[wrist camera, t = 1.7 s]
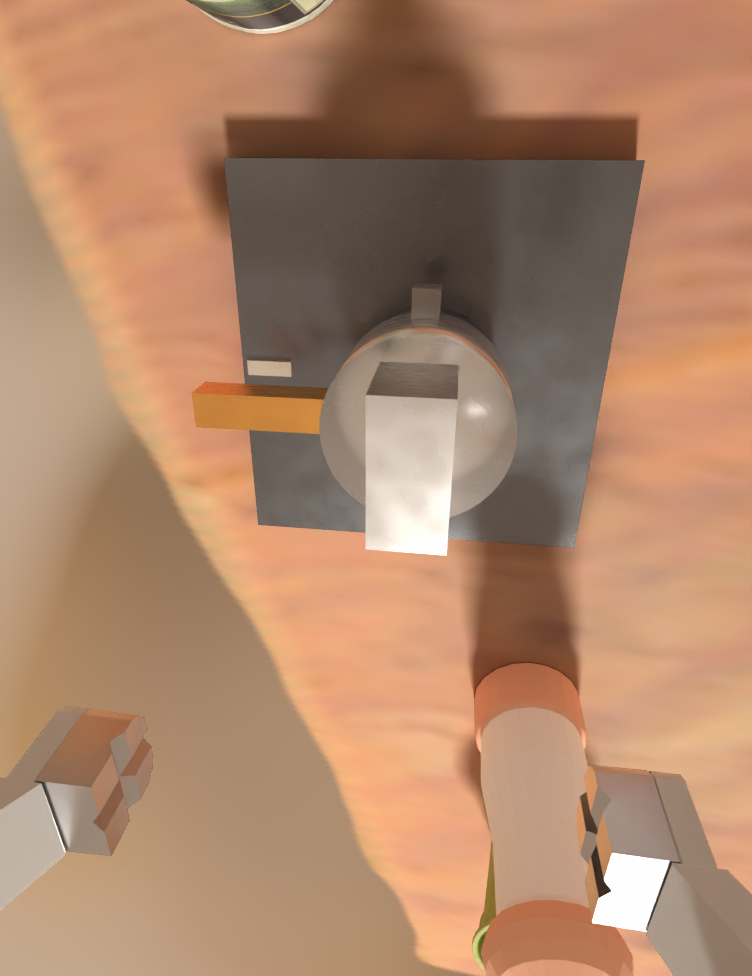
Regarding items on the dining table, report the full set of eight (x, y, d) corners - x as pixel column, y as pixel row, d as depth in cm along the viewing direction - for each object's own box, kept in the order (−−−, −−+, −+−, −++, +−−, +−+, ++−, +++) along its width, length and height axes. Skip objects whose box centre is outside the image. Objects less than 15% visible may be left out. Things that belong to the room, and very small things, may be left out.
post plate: (234, 158, 30) (195, 156, 26) (636, 160, 28) (667, 159, 24) (265, 513, 39) (240, 556, 35) (570, 534, 37) (584, 583, 33)
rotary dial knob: (522, 286, 26) (545, 333, 19) (498, 500, 31) (509, 609, 23) (206, 277, 28) (107, 318, 20) (229, 482, 33) (157, 579, 25)
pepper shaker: (555, 748, 46) (608, 1088, 29) (460, 721, 46) (458, 1045, 29) (596, 679, 42) (683, 1019, 25) (493, 650, 42) (513, 970, 25)
